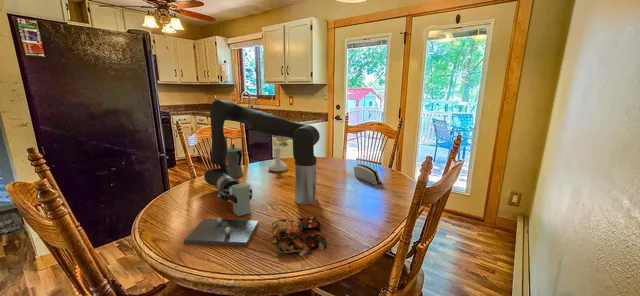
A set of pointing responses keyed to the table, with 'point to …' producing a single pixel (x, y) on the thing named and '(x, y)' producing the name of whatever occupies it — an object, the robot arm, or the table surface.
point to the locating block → (241, 199)
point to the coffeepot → (234, 162)
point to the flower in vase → (278, 164)
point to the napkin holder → (367, 173)
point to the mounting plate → (222, 232)
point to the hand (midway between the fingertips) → (243, 199)
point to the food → (297, 236)
